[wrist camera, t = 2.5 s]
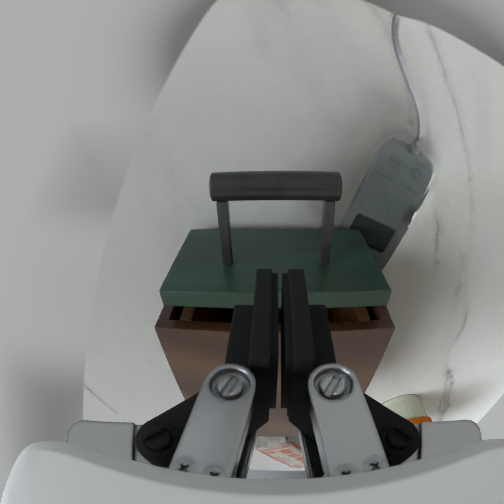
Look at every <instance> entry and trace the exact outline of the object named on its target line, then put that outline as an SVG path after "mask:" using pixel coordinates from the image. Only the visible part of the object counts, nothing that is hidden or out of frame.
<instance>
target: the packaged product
mask: <svg viewBox="0 0 504 504" xmlns="http://www.w3.org/2000/svg"><path fill="white" fill-rule="evenodd" d="M255 448H256V450H258V451H260V452H262V453H263V454H266V455H267V456H269V457H271V458H273V459H275V460H277V461H280V462H282V463H284V464H286V465H288V466H290V467H295V468H302V467H305V466H304V461H303V456H302V451H301V446H300V441H299V436H289V437H263V436H257V438H256V442H255Z"/></svg>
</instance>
